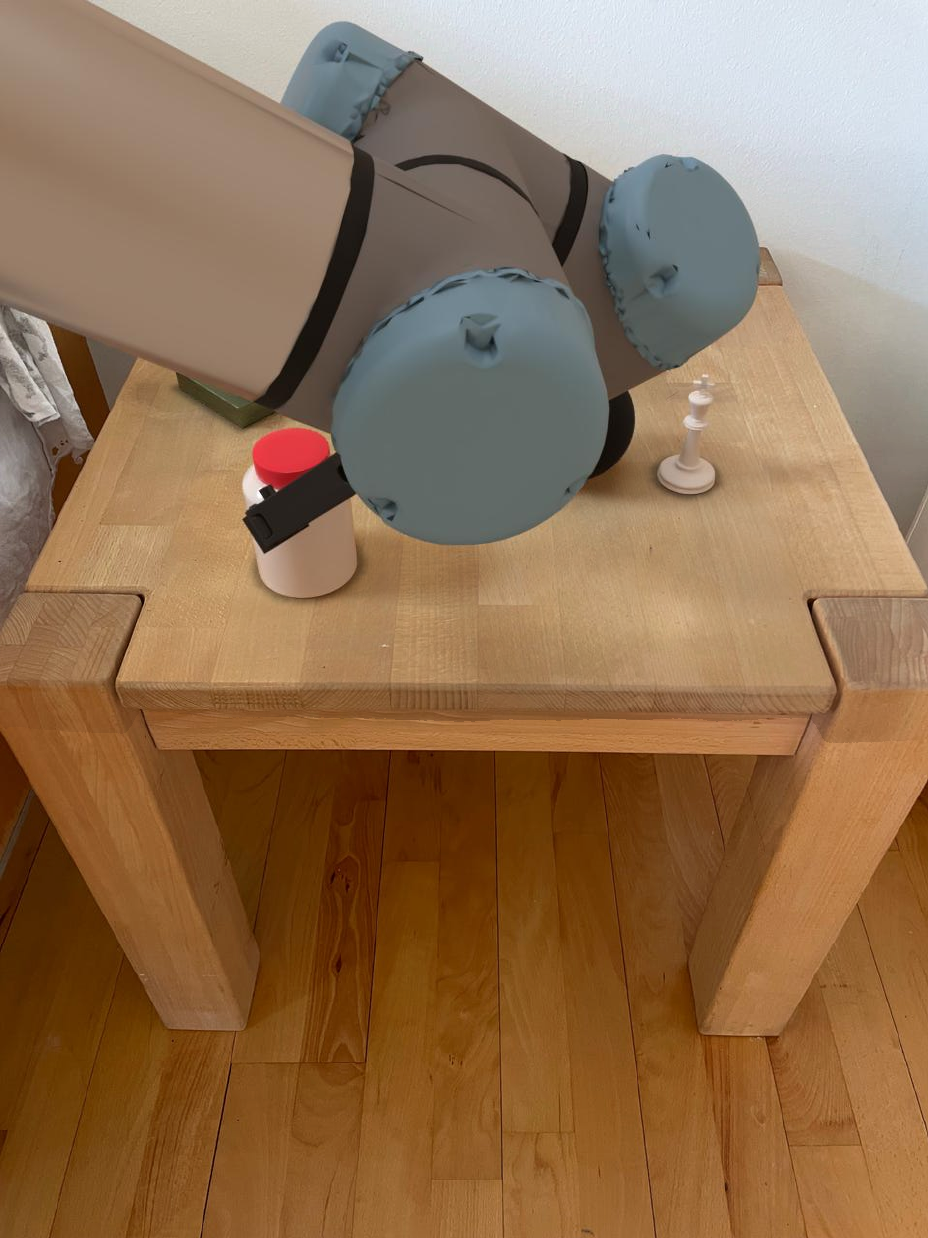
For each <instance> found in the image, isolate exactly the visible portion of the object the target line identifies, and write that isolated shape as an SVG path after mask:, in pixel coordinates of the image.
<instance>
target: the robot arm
mask: <svg viewBox="0 0 928 1238" xmlns="http://www.w3.org/2000/svg"><path fill="white" fill-rule="evenodd" d="M423 60H424V56H422V55H420V54H419V53H417V52H415V51H412V50H407V51H406V50H403V49H402V48H399V47H398V46H396V45H394V44H393V43H391V42H388V41H387V40H385V39H384V38H381V37H379V36H378V35H376V34H374V33H372V32H370V31H369V30H367V29H365V28H364V27H362V26H360V25H358V24H356V23H353V22H350V21H346V20H342V21H334V22H331V23H330V24H327V25H326V26H324V27H323V28H322V29H320V31H318V32H317V33H316V35H315V36H314V37H313V39H312V40H311V41H310V43H309V44H308V46H307V48H306V49H305V51H304V53H303V54H302V57H301V58H300V60H299V62H298V64H297V65H296V68H295V69H294V72H293V73H292V75H291V78H290V80H289V82H288V84H287V86H286V88H285V91H284V93H283V96H282V98H281V100H280V102H278V101H277V100H274V99H272V98H271V97H269V96H267V95H265V94H263V93H261V92H260V91H257V90H256V89H254V88H252V87H250V86H248V85H247V84H244V83H243V82H241V81H239V80H237V79H235V78H233V77H231V76H230V75H228V74H225V73H224V72H222V71H220V70H219V69H217V68H214V67H212V66H211V65H208V63H205V62H203V61H201V60H199V59H198V58H195V57H194V56H192V55H191V54H188V53H186V52H185V51H183V50H181V49H179V48H177V47H175V46H173V45H172V44H171V43H168V42H166V41H164V40H162V39H161V38H158V37H157V36H156V35H153V34H151V33H150V32H147V31H145V30H144V29H142V28H140V27H138V26H136V25H134V24H133V23H131V22H129V21H127V20H125V19H123V18H121V17H119V16H117V15H116V14H113V13H112V12H110V11H108V10H106V9H104V8H102V7H100V6H99V5H98V4H95V3H93V2H91V1H89V0H0V305H2V306H5V307H8V308H10V309H13V310H16V311H17V312H20V313H23V314H25V315H28V316H31V317H33V318H35V319H38V320H41V321H43V322H46V323H48V324H52V325H54V326H57V327H58V328H62V329H63V330H67V331H69V332H71V333H74V334H77V335H79V336H82V337H85V338H87V339H90V340H92V341H95V342H97V343H100V344H102V345H105V346H108V347H111V348H113V349H116V350H118V351H121V352H123V353H125V354H128V355H131V356H133V357H136V358H139V359H141V360H144V361H146V362H148V363H151V364H154V365H156V366H159V367H162V368H165V369H167V370H169V371H171V372H174V373H176V372H177V373H179V374H182V375H185V376H187V377H190V378H192V379H195V380H197V381H200V382H202V383H205V384H208V385H210V386H213V387H215V388H218V389H220V390H223V391H226V392H228V393H231V394H233V395H236V396H238V397H241V398H244V399H246V400H249V401H251V402H254V403H256V404H259V405H261V406H264V407H266V408H269V409H271V410H273V411H275V412H274V413H277V414H278V415H279V414H280V415H281V416H283V417H285V418H287V419H290V420H292V421H295V422H298V423H301V424H302V425H306V426H308V427H311V428H313V429H315V430H318V431H321V432H324V433H326V434H329V435H330V440H331V445H332V447H333V451H334V453H333V454H332V455H331V456H330V457H328V458H327V459H325V460H324V461H322V462H321V463H319V464H318V465H316V466H315V467H313V468H312V469H310V470H309V471H307V472H306V473H304V474H303V475H301V476H300V477H298V478H297V479H295V480H294V481H292V482H291V483H289V484H288V485H286V486H284V487H283V488H281V489H280V490H278V491H277V492H276V491H275V489H274V488H273V486H272V485H271V484H270V485H268V486H265V487H263V488H262V489H260V490H259V492H260V494H261V496H262V497H263V499H264V500H263V501H262V502H260V503H259V504H256V503H255V504H253V505H252V506H250V507H249V509H248V510H247V509H245V512H244V515H245V516H244V517H243V518H242V519H241V521H242V522H243V524H244V525H245V527H246V528H247V530H248V531H249V532H250V534H252V535H251V537H252V536H253V537H254V539H255V540H256V542H257V544H258V545H259V547H260V548H261V550H262V551H263V553H264V554H266V553H267V552H269V551H271V550H272V549H274V548H275V547H277V546H279V545H280V544H282V543H283V542H285V541H287V540H288V539H290V538H291V537H293V536H294V535H296V534H298V533H299V532H301V531H302V530H304V529H305V528H307V527H309V523H310V522H312V521H313V520H315V519H317V518H318V517H320V516H322V515H323V514H325V513H327V512H328V511H330V510H331V509H333V508H335V507H336V506H338V505H340V504H341V503H343V502H344V501H346V500H348V499H349V498H351V499H352V498H353V497H354V496H356V495H357V496H358V498H359V499H360V500H361V501H362V502H363V504H364V505H365V506H366V507H367V508H368V509H369V510H370V511H371V512H372V513H374V515H376V516H377V517H379V518H380V519H381V521H382V523H383V524H384V525H386V526H387V527H390V528H391V529H392V530H395V531H396V532H398V533H401V534H402V535H405V536H407V537H409V538H412V539H415V540H419V541H422V542H424V543H429V544H434V545H440V546H478V545H487V544H491V543H497V542H501V541H504V540H505V541H506V540H509V539H511V538H514V537H516V536H520V535H521V534H524V533H526V532H528V531H530V530H533V529H534V528H536V527H538V526H539V525H541V524H543V523H545V522H546V521H547V520H549V519H551V518H552V517H553V516H555V515H556V514H557V513H559V512H560V511H561V510H562V509H563V508H564V507H565V506H567V505H568V503H570V502H571V501H572V499H573V498H574V497H575V495H577V493H578V492H579V491H580V490H581V489H582V488H583V487H584V486H585V485H586V484H587V480H588V479H587V478H588V477H589V475H590V474H591V473H592V472H593V470H594V468H595V466H596V464H597V463H598V461H599V458H600V456H601V453H602V450H603V447H604V445H605V439H606V434H607V428H608V417H609V402H608V401H609V400H611V399H613V398H615V397H616V396H618V395H620V394H622V393H624V392H626V391H631V390H632V389H634V388H636V387H638V386H640V385H642V384H644V383H646V382H647V381H649V380H651V379H653V378H655V377H657V376H659V375H662V374H663V373H665V372H667V371H671V370H675V369H679V368H680V367H682V366H684V365H685V364H686V363H688V361H689V360H690V359H691V358H693V357H694V356H695V355H698V353H700V352H702V351H703V350H705V349H706V348H708V347H709V346H711V345H712V344H714V343H716V342H717V341H718V340H720V339H721V338H723V337H724V336H725V335H726V334H728V333H729V332H731V331H732V330H733V329H735V328H736V327H737V326H738V325H739V324H740V323H741V322H742V321H743V320H744V319H745V318H746V317H747V315H748V313H749V312H750V310H751V309H752V307H753V304H754V302H755V300H756V297H757V293H758V289H759V286H760V285H759V283H760V278H759V277H760V271H761V266H762V257H761V249H760V242H759V238H758V235H757V232H756V231H757V230H756V228H755V226H754V225H755V224H754V222H753V219H752V217H751V215H750V213H749V211H748V209H747V207H746V205H745V204H744V201H743V200H742V198H741V197H740V195H739V194H738V192H737V191H736V190H735V188H734V187H733V186H732V185H731V184H730V182H728V180H727V179H725V177H724V176H723V175H722V174H721V173H720V172H718V171H717V170H716V169H714V167H712V166H710V165H709V164H707V163H706V162H704V161H702V160H700V159H698V158H696V157H694V156H677V155H672V154H665V153H662V154H658V155H654V156H652V157H649V158H648V159H645V160H643V161H642V162H641V163H640V164H638V165H637V166H631V167H628V168H627V169H624V171H623V172H622V173H620V174H618V176H617V178H613V180H612V179H609V178H608V177H607V176H605V175H603V174H601V172H600V173H599V172H598V171H597V170H595V169H594V168H592V167H590V166H588V165H587V164H586V163H584V162H582V161H580V160H578V159H574V158H572V157H571V156H569V155H567V154H566V153H564V152H562V151H560V150H558V149H557V148H555V147H554V146H552V145H551V144H549V143H548V142H546V141H544V140H543V139H541V138H540V137H539V136H537V135H535V134H534V133H532V132H530V131H529V130H528V129H526V128H525V127H523V126H522V125H520V124H519V123H517V122H515V121H514V120H513V119H511V118H509V117H508V116H506V115H505V114H503V113H502V112H500V111H499V110H497V109H495V108H494V107H493V106H490V105H489V104H488V103H486V102H485V101H483V100H482V99H480V98H478V97H477V96H475V95H474V94H472V93H471V92H469V91H468V90H466V88H465V89H464V88H463V87H461V86H460V85H459V84H457V83H456V82H454V81H453V80H451V79H450V78H448V77H447V76H445V75H443V74H442V73H440V72H439V71H437V70H436V69H434V68H433V67H432V66H430V65H428V64H427V63H425V62H424V61H423ZM586 479H587V480H586Z"/></svg>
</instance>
